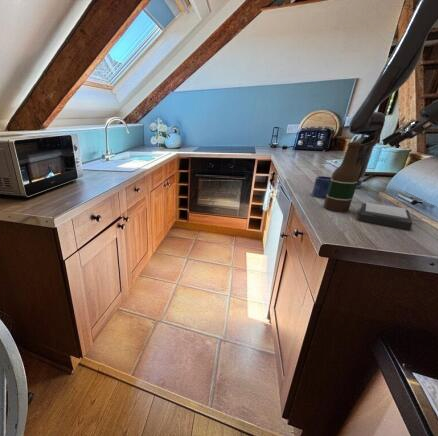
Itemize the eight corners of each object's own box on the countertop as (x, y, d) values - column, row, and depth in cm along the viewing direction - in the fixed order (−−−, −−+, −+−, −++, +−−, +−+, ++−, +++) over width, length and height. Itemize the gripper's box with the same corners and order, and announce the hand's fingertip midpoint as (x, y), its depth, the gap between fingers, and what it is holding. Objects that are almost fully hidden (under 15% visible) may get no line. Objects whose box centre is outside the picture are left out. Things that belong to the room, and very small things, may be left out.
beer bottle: (325, 203, 97) (343, 140, 87) (350, 208, 91) (371, 141, 82) (320, 208, 92) (338, 142, 82) (346, 213, 86) (368, 143, 77)
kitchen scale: (360, 209, 90) (363, 201, 89) (405, 216, 83) (409, 208, 82) (358, 220, 81) (361, 212, 80) (409, 230, 73) (413, 221, 72)
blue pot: (313, 193, 110) (317, 175, 107) (330, 195, 106) (335, 177, 103) (310, 196, 106) (314, 178, 103) (328, 199, 102) (333, 180, 99)
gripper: (428, 101, 86) (375, 134, 95) (447, 98, 74) (384, 137, 84) (443, 116, 85) (388, 149, 95) (464, 117, 74) (399, 153, 84)
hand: (386, 143), depth 90 cm, fingers open, 8 cm apart
